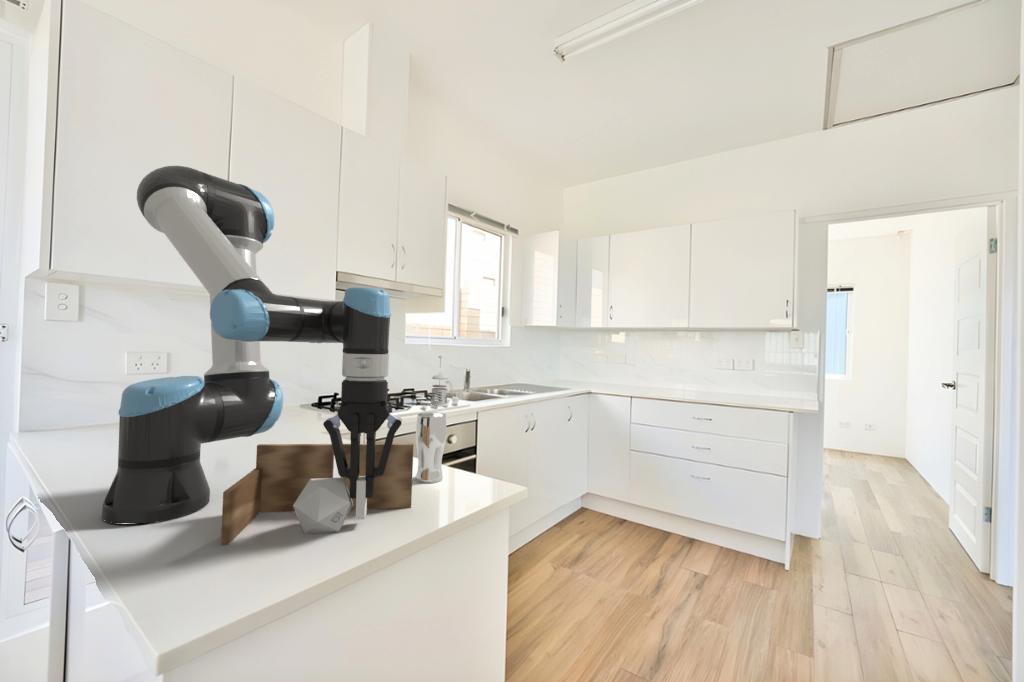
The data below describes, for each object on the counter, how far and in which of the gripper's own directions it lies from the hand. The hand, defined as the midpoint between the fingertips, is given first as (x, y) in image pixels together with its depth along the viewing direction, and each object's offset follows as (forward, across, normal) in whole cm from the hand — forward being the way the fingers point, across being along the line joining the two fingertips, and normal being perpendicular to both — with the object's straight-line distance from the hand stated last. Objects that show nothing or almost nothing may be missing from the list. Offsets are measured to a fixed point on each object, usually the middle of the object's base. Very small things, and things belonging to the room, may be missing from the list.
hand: (361, 516), depth 76 cm
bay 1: (+1, -13, +2) cm, 13 cm away
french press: (+2, +19, +148) cm, 149 cm away
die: (+2, -6, -1) cm, 6 cm away
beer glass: (+2, +12, +25) cm, 28 cm away
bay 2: (+2, +2, +8) cm, 8 cm away
